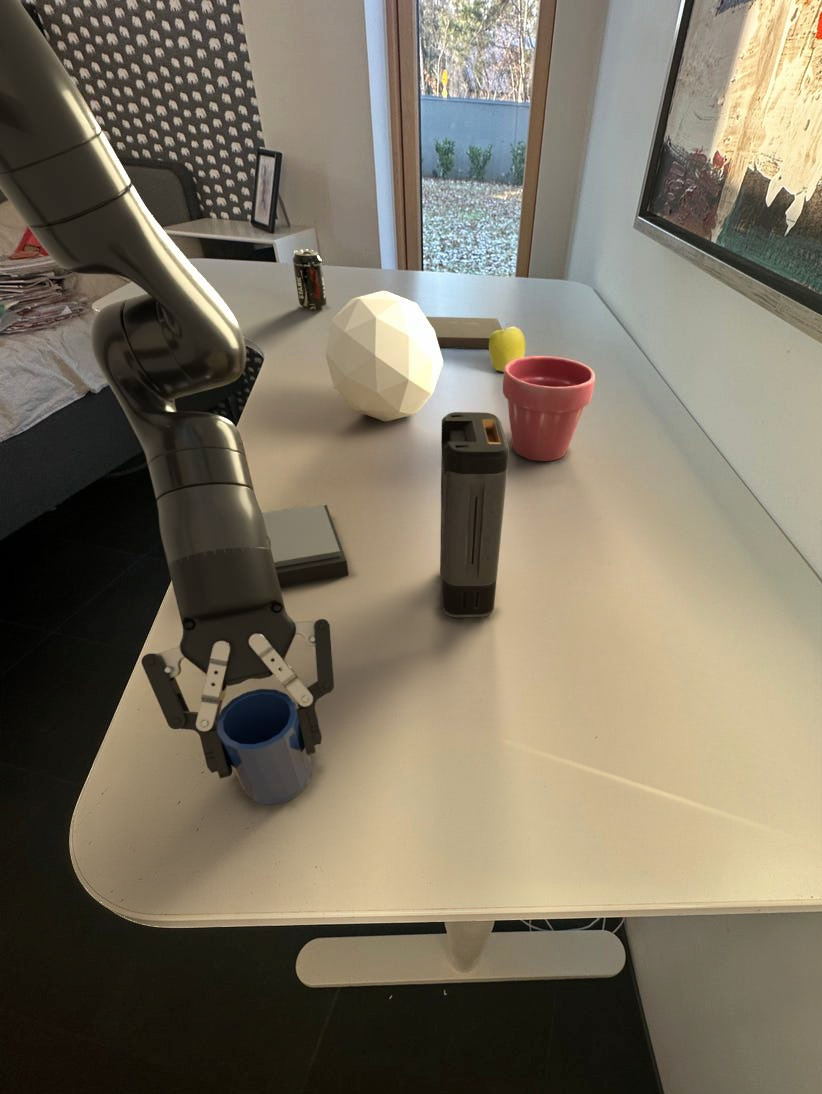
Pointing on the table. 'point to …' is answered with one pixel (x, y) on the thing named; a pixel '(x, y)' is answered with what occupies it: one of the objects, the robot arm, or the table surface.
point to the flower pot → (545, 403)
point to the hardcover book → (464, 331)
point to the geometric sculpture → (383, 356)
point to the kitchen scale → (304, 545)
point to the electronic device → (471, 511)
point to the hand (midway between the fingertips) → (270, 762)
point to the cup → (265, 745)
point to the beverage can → (309, 279)
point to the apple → (506, 347)
